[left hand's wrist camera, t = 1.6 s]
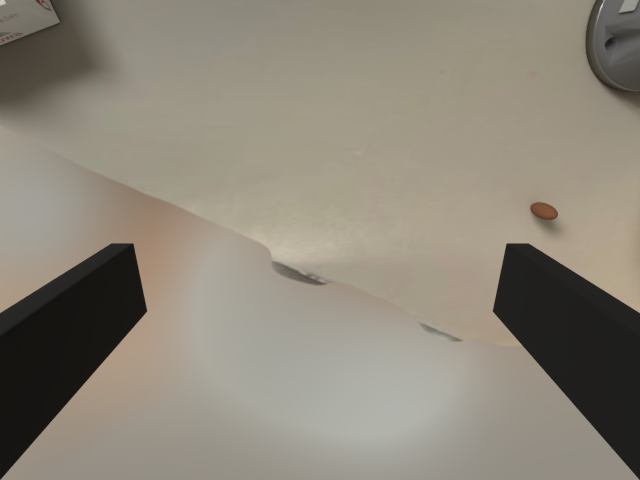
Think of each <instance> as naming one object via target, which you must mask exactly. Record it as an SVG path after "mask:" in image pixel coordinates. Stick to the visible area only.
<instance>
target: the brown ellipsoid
mask: <svg viewBox="0 0 640 480" xmlns="http://www.w3.org/2000/svg"><path fill="white" fill-rule="evenodd" d="M531 211H532V213H533V214H534V215H536V216H537V217H539V218H542V219H545V220H552V219H555V218H556V217H557V216H558V213H557V211H556V209H555V208H553V207H552V206H550V205H548V204H546V203H534V204H532V205H531Z"/></svg>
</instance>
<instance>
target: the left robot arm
mask: <svg viewBox="0 0 640 480" xmlns="http://www.w3.org/2000/svg"><path fill="white" fill-rule="evenodd" d="M586 51H587V57H588V60H589V63H590V66H591V68H592V70H593V71H594V73H595V74H596V76H597V77H598V78H599V79H600V80H601V81H602V82H603V83H605V84H606V85H608V86H609V87H611V88H614V89H616V90H620V91H626V92H637V91H640V0H596V2H595V4H594V7H593V9H592V11H591V14H590V17H589V21H588V25H587V31H586ZM146 312H147V308H146V303H145V298H144V294H143V289H142V284H141V279H140V274H139V269H138V264H137V259H136V254H135V249H134V244H110V245H108V246H107V247H105V248H104V249H102V250H100V251H99V252H97V253H96V254H94V255H92V256H91V257H89V258H88V259H86V260H84V261H83V262H81V263H80V264H78V265H76V266H75V267H73V268H72V269H70V270H68V271H67V272H65V273H64V274H62V275H60V276H59V277H57V278H56V279H54V280H52V281H51V282H49V283H48V284H46V285H45V286H43V287H41V288H40V289H38V290H37V291H35V292H33V293H32V294H30V295H29V296H27V297H25V298H24V299H22V300H21V301H19V302H17V303H16V304H14V305H13V306H11V307H9V308H8V309H6V310H5V311H3V312H1V313H0V479H1V478H2V477H3V476H4V475H5V474H6V473H7V471H8V470H9V469H10V468H11V467H12V466H13V465H14V463H15V462H16V461H17V460H18V459H19V458H20V457H21V455H22V454H23V453H24V452H25V451H26V450H27V449H28V447H29V446H30V445H31V444H32V443H33V442H34V441H35V439H36V438H37V437H38V436H39V435H40V434H41V433H42V431H43V430H44V429H45V428H46V427H47V426H48V424H49V423H50V422H51V421H52V420H53V419H54V418H55V416H56V415H57V414H58V413H59V412H60V411H61V410H62V408H63V407H64V406H65V405H66V404H67V403H68V402H69V400H70V399H71V398H72V397H73V396H74V395H75V394H76V392H77V391H78V390H79V389H80V388H81V387H82V386H83V384H84V383H85V382H86V381H87V380H88V379H89V377H90V376H91V375H92V374H93V373H94V372H95V371H96V369H97V368H98V367H99V366H100V365H101V364H102V363H103V361H104V360H105V359H106V358H107V357H108V356H109V354H110V353H111V352H112V351H113V350H114V349H115V348H116V347H117V345H118V344H119V343H120V342H121V341H122V340H123V338H124V337H125V336H126V335H127V334H128V333H129V332H130V330H131V329H132V328H133V327H134V326H135V325H136V323H137V322H138V321H139V320H140V319H141V318H142V317H143V315H144V314H145V313H146ZM493 312H494V313H495V314H496V316H497V317H498V318H499V319H500V320H501V321H502V322H503V324H504V325H505V326H506V327H507V328H508V329H509V330H510V332H511V333H512V334H513V335H514V336H515V337H516V338H517V340H518V341H519V342H520V343H521V344H522V345H523V347H524V348H525V349H526V350H527V351H528V352H529V353H530V354H531V356H532V357H533V358H534V359H535V360H536V361H537V363H538V364H539V365H540V366H541V367H542V368H543V369H544V371H545V372H546V373H547V374H548V375H549V376H550V377H551V379H552V380H553V381H554V382H555V383H556V384H557V386H558V387H559V388H560V389H561V390H562V391H563V392H564V394H565V395H566V396H567V397H568V398H569V399H570V400H571V401H572V403H573V404H574V405H575V406H576V407H577V408H578V410H579V411H580V412H581V413H582V414H583V415H584V416H585V418H586V419H587V420H588V421H589V422H590V423H591V425H592V426H593V427H594V428H595V429H596V430H597V431H598V433H599V434H600V435H601V436H602V437H603V438H604V439H605V441H606V442H607V443H608V444H609V445H610V446H611V447H612V449H613V450H614V451H615V452H616V453H617V454H618V455H619V457H620V458H621V459H622V460H623V461H624V462H625V464H626V465H627V466H628V467H629V468H630V469H631V470H632V471H633V473H634V474H635V475H636V476H637V477H638V478H639V480H640V313H639V312H637V311H635V310H634V309H632V308H631V307H629V306H627V305H626V304H624V303H623V302H621V301H619V300H618V299H616V298H615V297H613V296H611V295H610V294H608V293H607V292H605V291H603V290H602V289H600V288H599V287H597V286H596V285H594V284H592V283H591V282H589V281H588V280H586V279H584V278H583V277H581V276H580V275H578V274H576V273H575V272H573V271H572V270H570V269H568V268H567V267H565V266H564V265H562V264H560V263H559V262H557V261H556V260H554V259H552V258H551V257H549V256H548V255H546V254H544V253H543V252H541V251H540V250H538V249H536V248H535V247H533V246H532V245H530V244H506V249H505V254H504V259H503V264H502V269H501V274H500V279H499V284H498V289H497V294H496V298H495V303H494V308H493Z"/></svg>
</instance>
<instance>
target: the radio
mask: <svg viewBox="0 0 640 480" xmlns="http://www.w3.org/2000/svg"><path fill="white" fill-rule="evenodd" d="M57 23H60V21H59V19H58V17H57V15H56V13H55V11H54V9H53V7H52V5H51V3H50V1H49V0H0V45H3V44H5V43H8V42H11V41H13V40H16V39H18V38H21V37H23V36H26V35H29V34H31V33H34V32H36V31H39V30H42V29H44V28H47V27H49V26H52V25H55V24H57Z"/></svg>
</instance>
